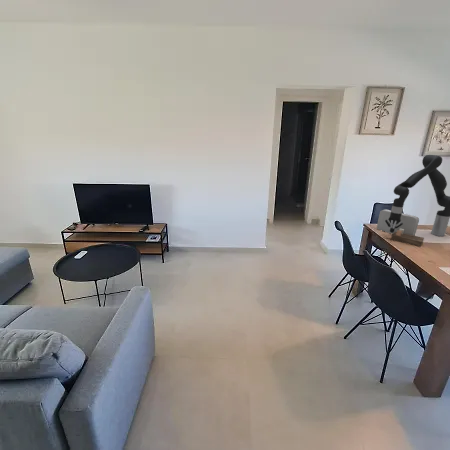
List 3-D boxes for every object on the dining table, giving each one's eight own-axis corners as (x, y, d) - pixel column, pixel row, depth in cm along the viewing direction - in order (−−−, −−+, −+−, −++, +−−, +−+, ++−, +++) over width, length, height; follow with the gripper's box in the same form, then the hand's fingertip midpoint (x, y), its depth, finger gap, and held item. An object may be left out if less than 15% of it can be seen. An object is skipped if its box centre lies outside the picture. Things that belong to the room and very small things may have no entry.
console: (394, 235, 231) (395, 231, 230) (422, 242, 219) (424, 237, 218) (390, 239, 222) (392, 235, 221) (420, 246, 210) (421, 241, 209)
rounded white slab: (415, 237, 229) (421, 216, 223) (411, 239, 225) (417, 218, 219) (380, 227, 251) (384, 208, 245) (376, 229, 246) (380, 209, 240)
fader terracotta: (396, 234, 223) (397, 230, 222) (401, 235, 221) (402, 231, 220) (396, 235, 221) (397, 231, 220) (400, 236, 219) (401, 231, 218)
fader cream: (399, 232, 227) (400, 228, 226) (403, 233, 225) (404, 229, 224) (398, 233, 225) (399, 229, 224) (402, 234, 223) (403, 230, 222)
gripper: (407, 212, 217) (401, 233, 222) (388, 209, 225) (383, 229, 231) (405, 214, 211) (400, 235, 217) (386, 211, 219) (381, 231, 225)
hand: (391, 232), depth 224 cm, fingers closed
